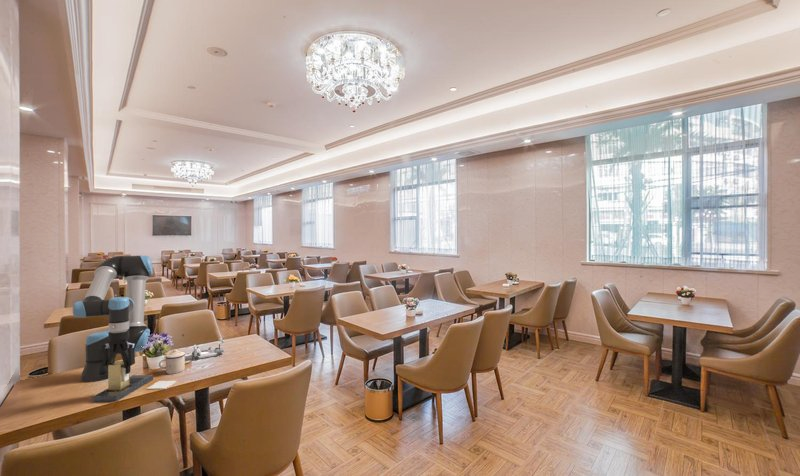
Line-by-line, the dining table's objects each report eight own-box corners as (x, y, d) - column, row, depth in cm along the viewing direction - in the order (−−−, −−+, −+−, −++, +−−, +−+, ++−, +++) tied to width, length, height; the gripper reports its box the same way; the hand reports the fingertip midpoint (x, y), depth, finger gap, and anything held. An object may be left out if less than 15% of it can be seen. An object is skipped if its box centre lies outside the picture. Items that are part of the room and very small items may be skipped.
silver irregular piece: (224, 335, 228) (226, 340, 218) (224, 350, 228) (226, 355, 218) (191, 340, 218) (193, 344, 208) (191, 356, 218) (193, 361, 208)
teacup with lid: (184, 366, 198) (184, 346, 198) (185, 371, 191) (185, 350, 191) (158, 371, 191) (158, 350, 191) (159, 377, 184) (159, 354, 184)
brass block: (108, 391, 161) (108, 365, 161) (117, 386, 167) (117, 360, 167) (120, 391, 161) (120, 365, 161) (129, 386, 167) (129, 360, 167)
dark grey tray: (93, 401, 156) (93, 396, 156) (132, 380, 180) (132, 375, 180) (116, 401, 156) (116, 395, 156) (152, 379, 180) (152, 374, 180)
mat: (146, 389, 168) (146, 388, 168) (158, 381, 177) (158, 380, 177) (165, 389, 169) (165, 388, 169) (176, 381, 178) (176, 380, 178)
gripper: (91, 333, 160) (91, 384, 160) (133, 333, 160) (133, 383, 161) (105, 328, 167) (105, 377, 167) (144, 328, 168) (144, 377, 168)
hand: (119, 380), depth 164 cm, fingers closed on brass block, 5 cm apart
